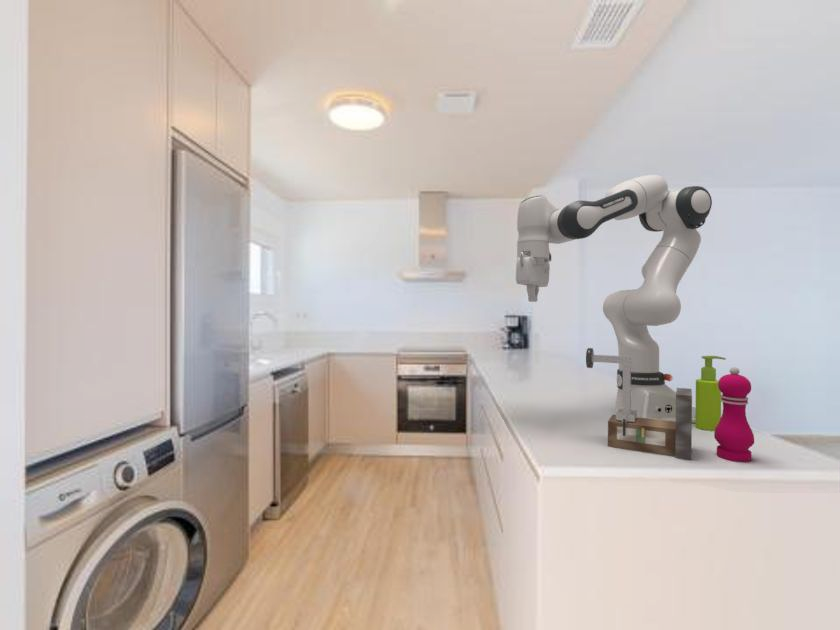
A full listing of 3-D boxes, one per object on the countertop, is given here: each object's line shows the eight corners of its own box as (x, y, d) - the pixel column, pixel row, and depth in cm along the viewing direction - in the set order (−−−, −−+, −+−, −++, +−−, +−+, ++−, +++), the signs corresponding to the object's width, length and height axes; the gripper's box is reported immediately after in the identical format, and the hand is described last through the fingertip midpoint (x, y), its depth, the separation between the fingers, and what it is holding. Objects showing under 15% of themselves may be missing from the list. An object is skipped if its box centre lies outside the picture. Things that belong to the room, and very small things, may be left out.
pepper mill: (761, 463, 93) (762, 369, 92) (723, 461, 94) (724, 368, 94) (743, 452, 100) (744, 365, 100) (708, 450, 101) (709, 364, 101)
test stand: (607, 447, 104) (607, 388, 103) (613, 436, 112) (613, 382, 112) (691, 460, 95) (691, 395, 95) (690, 447, 103) (691, 388, 103)
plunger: (583, 430, 107) (584, 349, 106) (589, 423, 113) (590, 347, 113) (633, 437, 101) (634, 351, 101) (636, 429, 108) (637, 349, 107)
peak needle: (641, 437, 100) (641, 428, 100) (641, 436, 100) (641, 428, 100) (644, 437, 100) (644, 428, 100) (644, 437, 100) (644, 428, 100)
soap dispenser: (729, 431, 117) (730, 357, 117) (701, 430, 118) (701, 356, 118) (718, 426, 123) (719, 355, 123) (691, 424, 124) (692, 354, 124)
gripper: (533, 248, 115) (533, 300, 115) (553, 256, 132) (553, 302, 132) (509, 250, 118) (509, 301, 118) (532, 257, 135) (532, 302, 136)
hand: (532, 301), depth 125 cm, fingers closed
